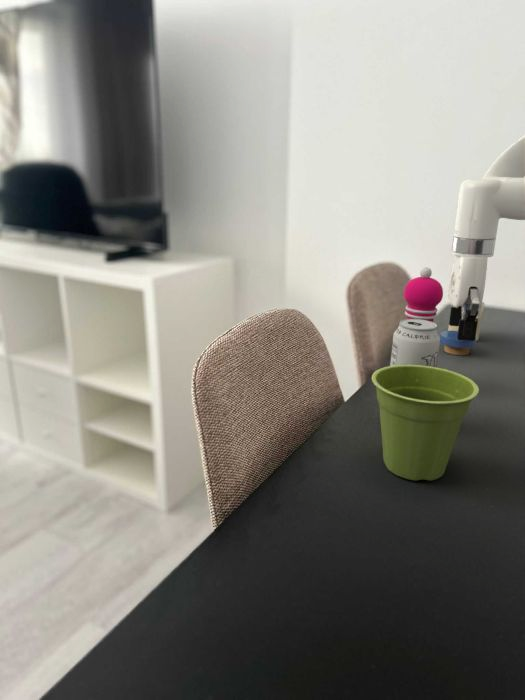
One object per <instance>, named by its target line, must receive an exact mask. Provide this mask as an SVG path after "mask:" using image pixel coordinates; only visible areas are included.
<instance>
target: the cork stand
mask: <svg viewBox="0 0 525 700" xmlns="http://www.w3.org/2000/svg"><path fill="white" fill-rule="evenodd" d="M470 349H471V347H470V348H457V347H451V346H447V345H445V344H444V347H443V352H446V353H448V354H449V355H455V356H466V355H469V354H470Z"/></svg>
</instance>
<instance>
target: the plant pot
mask: <svg viewBox="0 0 525 700" xmlns="http://www.w3.org/2000/svg"><path fill="white" fill-rule="evenodd" d="M371 381H372V384H373V385H374V387H376V388H375V389H376V400H377V402H378V407H379V419H380V431H381V433H380V434H381V442H382V443H381V445H382V446H381V447H382V458H383V463H384V464H385V467H386V469H387V470H388V471H389V472H391V473H392V474H394V475H395V476H397V477H400V478H403V479H405V480H409V481H420V480H426V481H428V482H429V481H430V482H431V481H435V480H438V479H439V478H441V477H442V476H443V475H444V474H445V471H446V469H447V466H448V463H449V460H450V457H451V454H452V451H453V448H454V445H455V442H456V439H457V437H458V434H459V431H460V428H461V425H462V422H463V419H464V416H466V414H467V413H468V411H469V408H470V406H471V402H472V400H473V399H476V397H477V396H478V395H479V392H480V389H479V385H477V384H476V382H475V381H474V380H472V379H471V378H469V377H468V376H465V375H463V374H461V373H458V372H456V371H453V370H449V369H445V368H441V367H430V366H423V365H394V366H390V365H389V366H384V367H381V368H379V369H377V370H375V371H374V372H373V373H372V375H371Z"/></svg>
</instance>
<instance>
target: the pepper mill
mask: <svg viewBox="0 0 525 700" xmlns="http://www.w3.org/2000/svg"><path fill="white" fill-rule="evenodd" d="M432 273H433V272H432V269H431V268H430V267H427V266H426V267H423V268H421V269H420V272H419V275H420V276H418V277H414V278H412V279H411V280H409V281H408V282H407V284H406V285H405V287H404V291H403V297H404V300H405V302H406V303H407V305H406V306H405V311H404V315H405V316H406V319H421V320H427V321H430V322H433V323H434V320H435V319H436V318H437V317H438V315H437V312H438V311H439V310H438V308H437V306H438V305H439V304H440V303H441V302H442V301H443V299H444V298H443V297H444V288H443V286H442V284H441V283H440V281H438V280H437V279H435V278H432V277H431V276H432ZM437 361H438V357H437ZM436 368H438V363H437V364H436Z"/></svg>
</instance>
